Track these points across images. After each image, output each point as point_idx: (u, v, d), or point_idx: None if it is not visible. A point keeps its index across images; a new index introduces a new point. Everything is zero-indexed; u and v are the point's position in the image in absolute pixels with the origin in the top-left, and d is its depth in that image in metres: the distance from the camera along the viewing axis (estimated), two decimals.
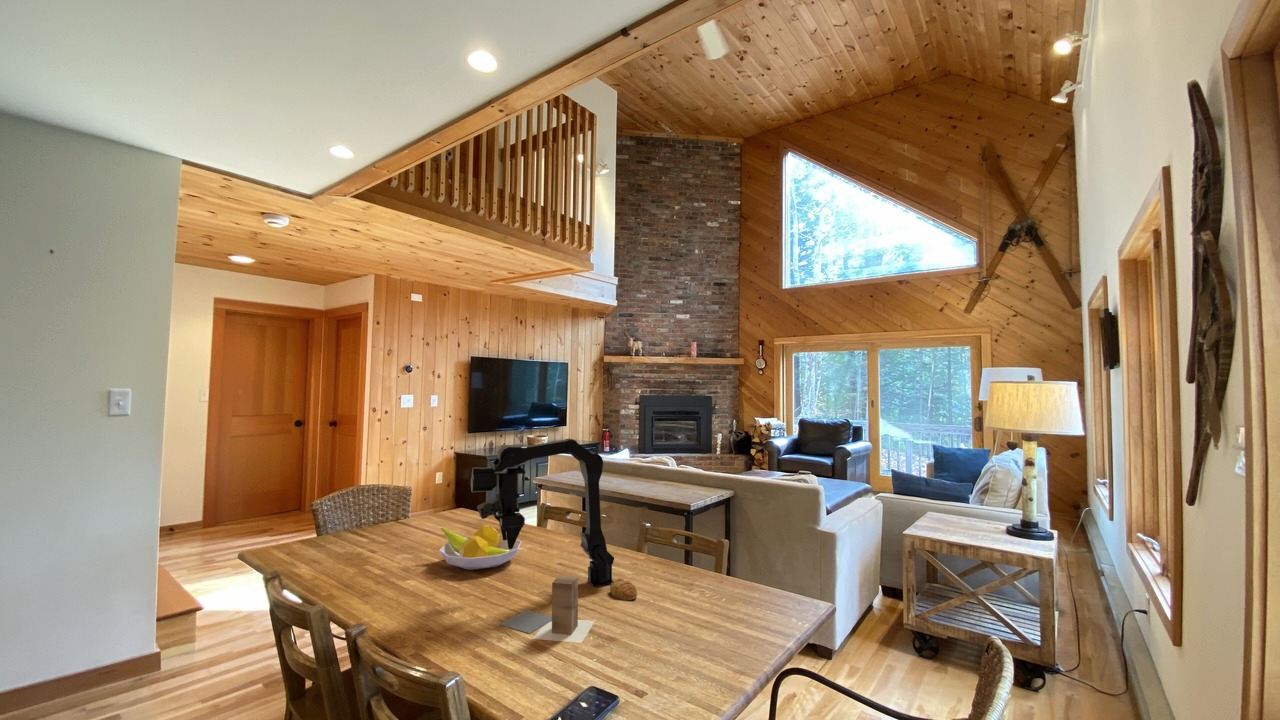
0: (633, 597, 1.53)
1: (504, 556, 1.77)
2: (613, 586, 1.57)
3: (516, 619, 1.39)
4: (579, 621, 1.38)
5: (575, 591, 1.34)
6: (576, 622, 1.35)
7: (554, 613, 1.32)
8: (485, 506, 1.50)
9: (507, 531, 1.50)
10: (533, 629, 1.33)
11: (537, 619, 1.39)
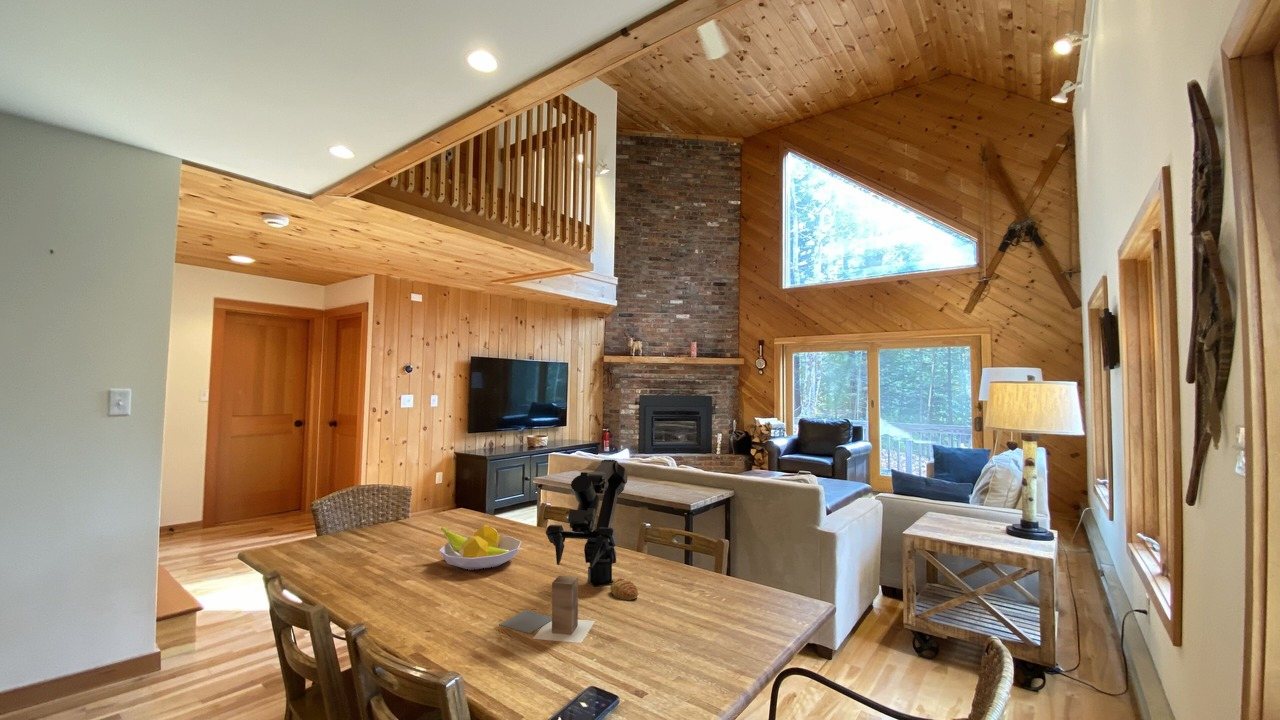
0: (634, 597, 1.53)
1: (504, 556, 1.77)
2: (614, 586, 1.57)
3: (516, 619, 1.39)
4: (579, 621, 1.38)
5: (575, 591, 1.34)
6: (576, 622, 1.35)
7: (554, 613, 1.32)
8: (594, 510, 1.46)
9: None
10: (533, 629, 1.33)
11: (537, 619, 1.39)
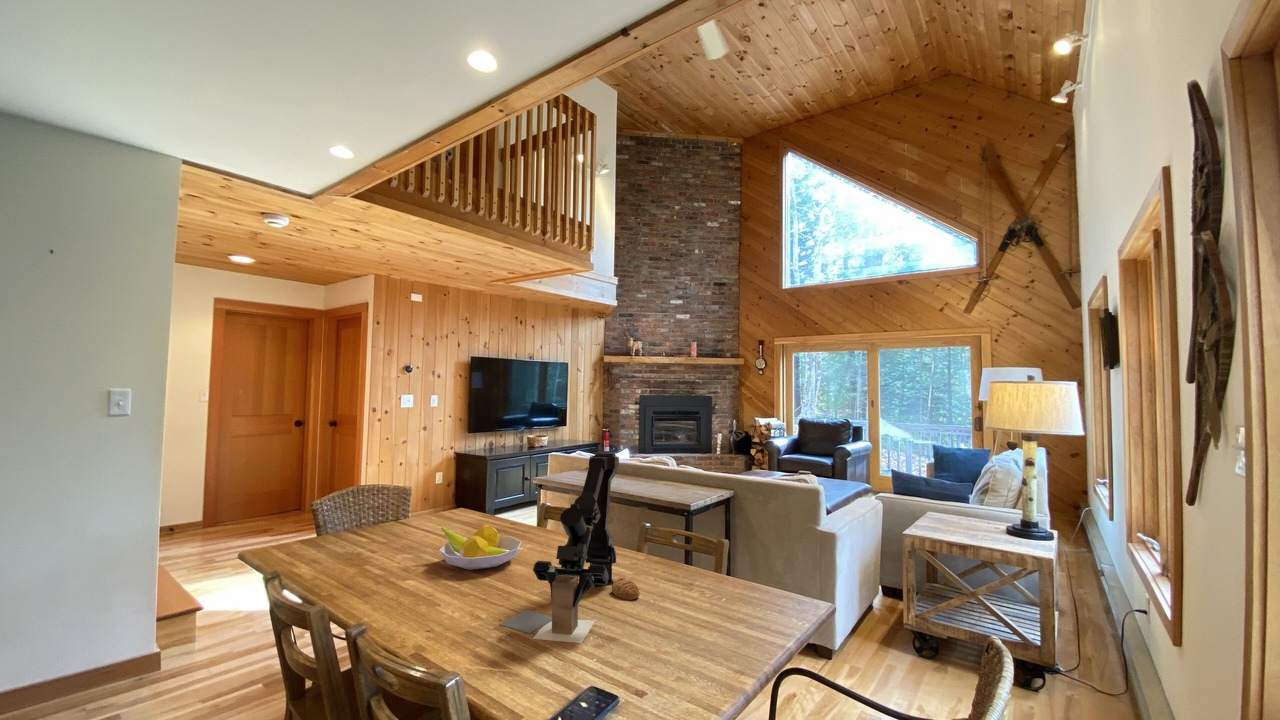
0: (636, 596, 1.53)
1: (504, 556, 1.77)
2: (615, 585, 1.58)
3: (516, 619, 1.39)
4: (579, 621, 1.38)
5: (575, 591, 1.34)
6: (576, 622, 1.35)
7: (554, 613, 1.32)
8: (584, 546, 1.36)
9: (584, 583, 1.35)
10: (533, 629, 1.33)
11: (537, 619, 1.39)
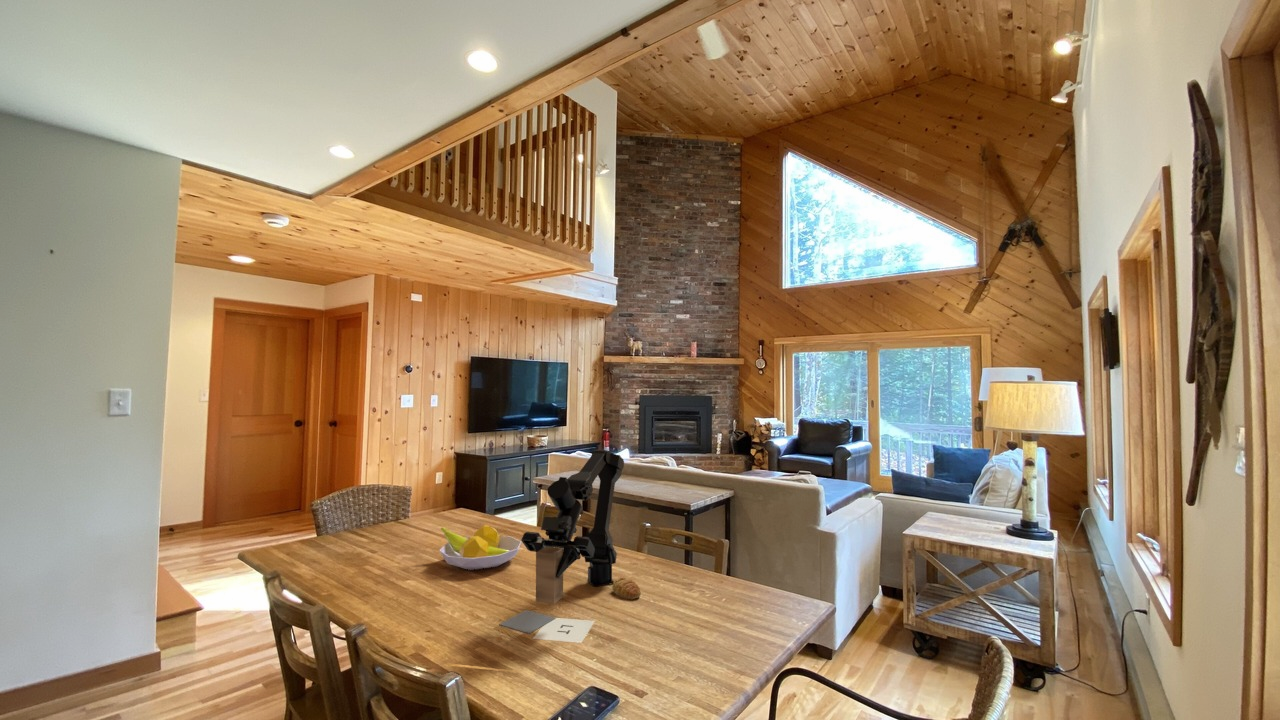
0: (637, 596, 1.54)
1: (504, 556, 1.77)
2: (616, 585, 1.58)
3: (516, 619, 1.39)
4: (579, 621, 1.38)
5: (559, 562, 1.36)
6: (561, 593, 1.36)
7: (538, 582, 1.34)
8: (569, 518, 1.37)
9: (568, 555, 1.36)
10: (533, 629, 1.33)
11: (537, 619, 1.39)
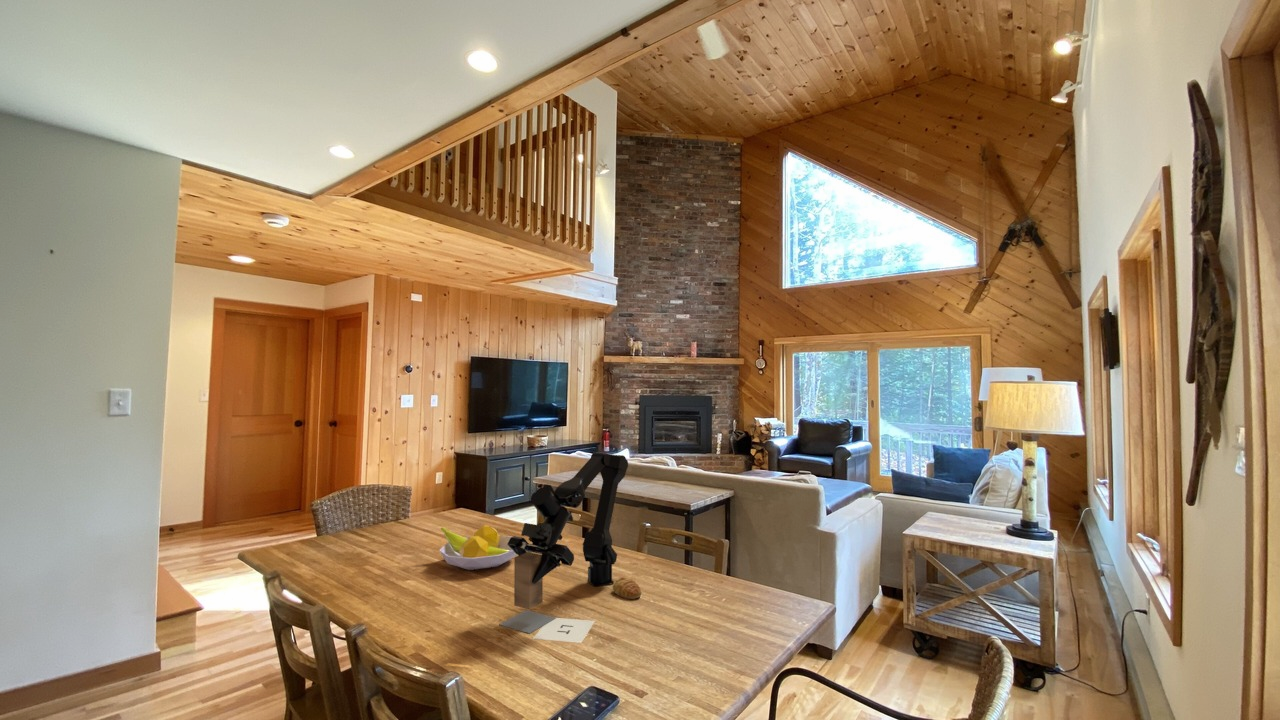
0: (638, 595, 1.54)
1: (504, 556, 1.77)
2: (617, 585, 1.58)
3: (516, 619, 1.39)
4: (579, 621, 1.38)
5: (537, 568, 1.38)
6: (539, 598, 1.39)
7: (516, 587, 1.37)
8: (547, 525, 1.39)
9: (546, 562, 1.38)
10: (533, 629, 1.33)
11: (537, 619, 1.39)
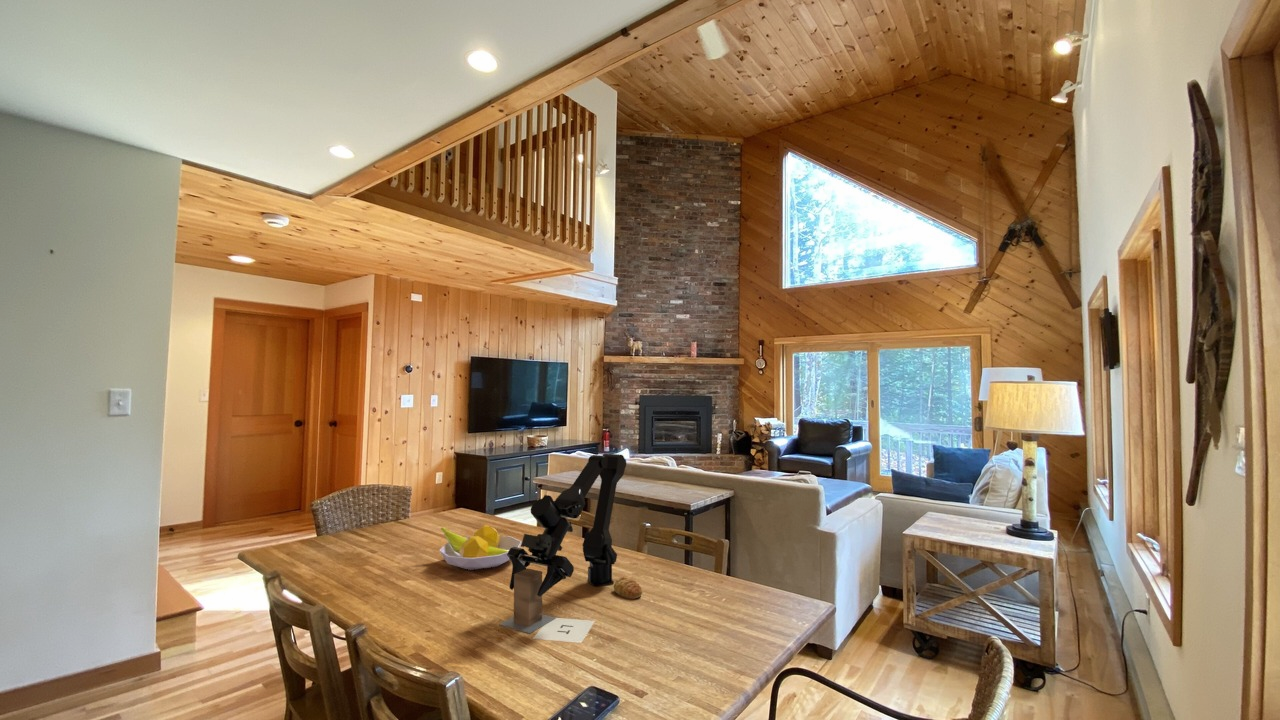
0: (639, 595, 1.54)
1: (504, 556, 1.77)
2: (617, 585, 1.58)
3: None
4: (579, 621, 1.38)
5: (536, 585, 1.38)
6: (539, 615, 1.38)
7: (515, 604, 1.37)
8: (547, 536, 1.39)
9: (552, 574, 1.37)
10: (533, 629, 1.33)
11: None
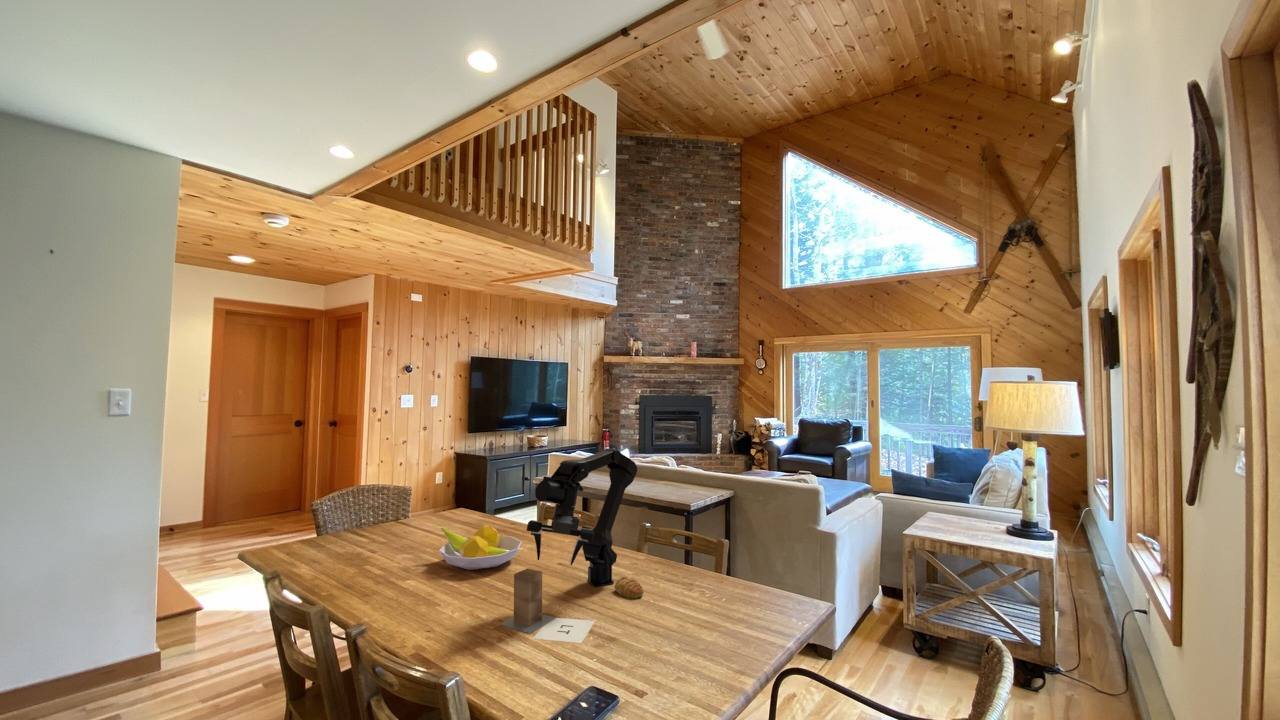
0: (640, 594, 1.55)
1: (504, 556, 1.77)
2: (618, 584, 1.58)
3: None
4: (579, 621, 1.38)
5: (536, 585, 1.38)
6: (539, 615, 1.38)
7: (515, 604, 1.37)
8: None
9: None
10: (533, 629, 1.33)
11: None
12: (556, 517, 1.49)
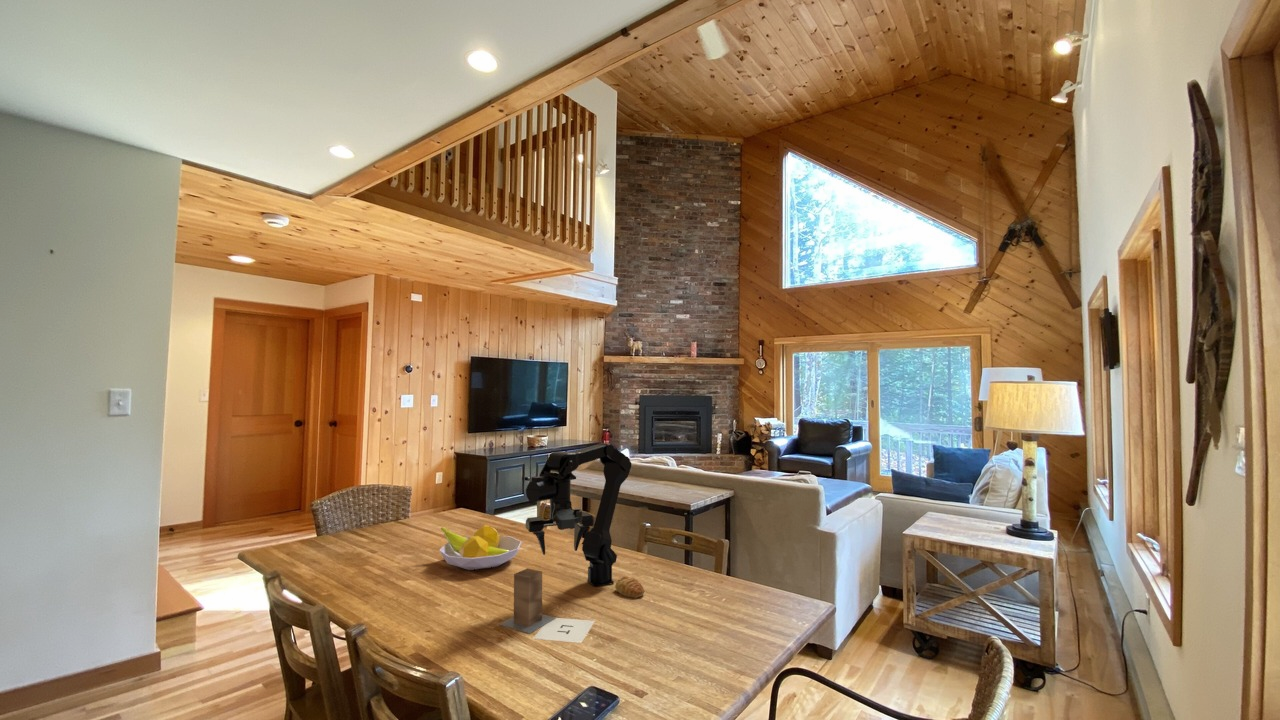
0: (641, 594, 1.55)
1: (504, 556, 1.77)
2: (619, 584, 1.59)
3: None
4: (579, 621, 1.38)
5: (536, 585, 1.38)
6: (539, 615, 1.38)
7: (515, 604, 1.37)
8: None
9: None
10: (533, 629, 1.33)
11: None
12: (558, 514, 1.49)
